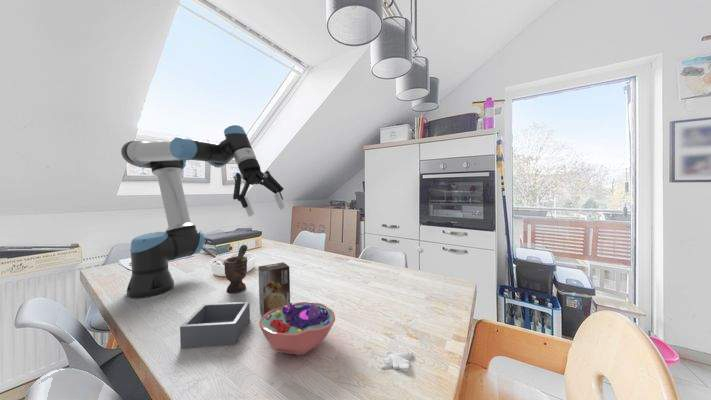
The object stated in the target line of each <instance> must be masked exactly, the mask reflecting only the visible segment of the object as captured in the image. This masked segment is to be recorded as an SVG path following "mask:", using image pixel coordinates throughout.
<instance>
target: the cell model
mask: <svg viewBox="0 0 711 400" xmlns="http://www.w3.org/2000/svg"><path fill="white" fill-rule="evenodd" d="M335 322H336V315H335V312H334V311H333V310H332V309H331V308H329V307H328V306H327V305H325V304H322V303H319V302H309V301H308V302H307V301H301V302H300V301H299V302H295V303H294V302H293V303H292V302H290V304H289V305H285V306H282V307H279V308H276V309H274V310H271V311H269V312H267V313H266V314H265V315H264V316H262V317H261V318H260V319H259V321H258V326H259V328H260V329H261V332H262V334H263V336H264V337H265V339H266V341H267V342H268V344H269V346H270V348H271V349H272V350H273V351H274V352H276V353H280V354H291V355H298V356H304V355H305V354H307V353H309V351H311V350H313V349H315V348H317V347H319V346H321V344H322V343H323V342H324V340H325V339H326V338H327V336H328V334H329V333H330V331H331V329H332V327H333V325H334V323H335Z"/></svg>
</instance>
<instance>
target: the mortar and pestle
mask: <svg viewBox="0 0 711 400" xmlns="http://www.w3.org/2000/svg"><path fill="white" fill-rule="evenodd" d="M247 251H248V245H246V244H242V245H240V247H239V249H238V252H237V253H238V254H237V255H236V256H230V257H228V258H225V260H224V261H223V263H224V275H225V278H226V279H227V281H229V285H228V286H227V287H226V292H227V293H230V294H232V293H241V292H243V291H245V290H246V289H247V286H246V283H244V282H243V280H244V278H245V277H246V274H247V271H248V257H247V256H245V255H246V253H247Z"/></svg>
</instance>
